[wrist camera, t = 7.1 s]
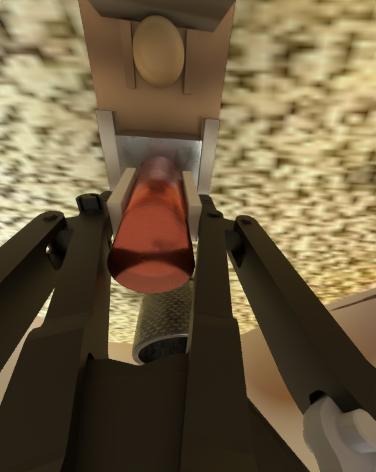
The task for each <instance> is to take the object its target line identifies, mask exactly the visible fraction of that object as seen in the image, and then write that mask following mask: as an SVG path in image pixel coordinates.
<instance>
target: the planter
mask: <svg viewBox="0 0 376 472" xmlns="http://www.w3.org/2000/svg"><path fill="white" fill-rule="evenodd" d="M193 285H194V282H193V281H191V280H188V281H187V282H185V283H184V284H183V285H181V286H180V287H178V288H176V289H173V290H171V291H167V292H162V293H146V294H145V296H144V298H143V301H142V304H141V307H140V311H139V316H138V321H137V326H136V331H135V337H134V343H133V350H132V356H133V359H134V361H135V362H136V363H138V364H139V365H144V364H146V363H149V362H152V361H154V360H157V359H160V358H163V357H165V356H168V355H171V354H181V353H186V349H187V341H188V331H189V322H190V313H191V303H192V294H193Z"/></svg>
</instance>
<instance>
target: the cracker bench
mask: <svg viewBox="0 0 376 472" xmlns="http://www.w3.org/2000/svg"><path fill="white" fill-rule="evenodd" d="M78 2H79V7H80V13H81V18H82V24H83V29H84V34H85V40H86V45H87V50H88V56H89V61H90V67H91V72H92V77H93V83H94V88H95V93H96V99H97V104H98V110H95V112H96V118H97V123H98V128H99V133H100V138H101V143H102V148H103V153H104V158H105V164H106V169H107V174H108V179H109V184H110V189H111V191H114V189H115V187H116V186H117V184H118V182H119V180H120V179H121V174H120V168H119V161H118V154H117V148H116V141H115V135H116V134H117V133H119V132H120V131H122V130H123V129H130V130H144V131H158V132H173V133H187V134H197V135H198V137H199V138H200V139H201V140H202V147H201V157H200V166H199V175H198V184H197V192H198V194H207V195H208V196H209V189H210V183H211V176H212V170H213V163H214V157H215V150H216V144H217V137H218V130H219V124H220V120H218V118H219V111H220V104H221V98H222V91H223V84H224V77H225V71H226V64H227V57H228V50H229V43H230V37H231V30H232V23H233V16H234V10H235V3H236V0H78ZM151 15H159V16H163V17H165V18H167V19H168V20H169V21H171V22H172V23H173V25H174V26H175V27H176V29H177V30H178V32H179V34H180V36H181V39H182V42H183V47H184V64H183V68H182V71H181V74H180V76H179V77H178V79H177V80H176V81H175V82H174V83H173V84H172V85H170V86H168V87H165V88H158V87H154V86H152V85H150V84H149V83H148V82H146V81H145V80H144V79H143V77H142V76H141V75H140V73H139V71H138V69H137V67H136V64H135V61H134V57H133V38H134V34H135V31H136V29H137V27H138V25H139V24H140V22H141V21H142V20H144V19H145V18H146V17H148V16H151Z"/></svg>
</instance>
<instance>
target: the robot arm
mask: <svg viewBox="0 0 376 472" xmlns="http://www.w3.org/2000/svg"><path fill="white" fill-rule="evenodd" d="M136 180H137V173H136V168H126V170H125V172H124V174H123V175H122V177H121V179H120V180H119V182H118V184H117V186H116V187H115V189H114V191H105V192H103V193H101V194H100V195H99V194H95V193H89V194H83V195H80V196H78V197H77V198H76V202H77V205H78V208H79V211H80V213H79V216H76V217H69V218H65V217H64V214H63V213H62V212H59V211H49V212H45V213H42V214H40V215H38V216H37V217H35V218H34V219H33V220H32V221H31V222H30V223H28V224H27V225H26V226H25V227H24V228H22V229H21V230H20V231H19V232H18V233H16V234H15V235H14V236H13V237H12V238H11V239H9V240H8V241H7V242H6V243H5V244H3V245H2V246H1V247H0V372H1V370H2V369H3V367H4V365H5V364H6V362H7V361H8V359H9V358H10V356H11V355H12V353H13V352H14V350H15V348H16V347H17V345H18V344H19V342H20V340H21V339H22V338H23V336H24V334H25V333H26V331H27V330H28V328H29V327H30V325H31V324H32V322H33V320H34V319H35V317H36V316H37V314H38V313H39V311H40V310H41V308H42V306H43V305H44V303H45V302H46V300H47V299H48V297H49V296H50V294H51V292H52V291H53V289H54V288H55V289H54V292H53V295H52V298H51V301H50V304H49V307H48V310H47V313H46V316H45V320H44V322H43V324H42V325H41V327H38V328H34V329H33V330H32V331H31V332H30V333H29V334H28V336H27V338H26V340H25V342H24V344H23V347H22V350H21V352H20V355H19V358H18V360H17V363H16V366H15V368H14V371H13V373H12V376H11V379H10V381H9V384H8V387H7V389H6V392H5V394H4V397H3V400H2V402H1V405H0V472H310V471H309V470H308V469H307V467H306V466H305V465H304V464H303V463H302V461H301V460H300V459H299V458H298V457H297V456H296V454H295V453H294V452H293V451H292V450H291V448H290V447H289V446H288V445H287V444H286V442H285V441H284V440H283V439H282V438H281V436H280V435H279V434H278V433H277V432H276V430H275V429H274V428H273V427H272V426H271V425H270V423H269V422H268V421H267V420H266V418H265V417H264V416H263V415H262V414H261V413H260V411H259V410H258V409H257V408H256V407H255V405H254V404H253V403H252V402H251V401H250V399H249V398H248V397H247V394H246V384H245V376H244V367H243V360H242V359H243V358H242V351H241V341H240V332H239V326H238V322H237V319H235V318H233V314H232V305H231V294H230V283H229V272H228V261H227V253H228V256H229V258H230V260H231V263H232V265H233V267H234V269H235V272H236V274H237V276H238V279H239V281H240V283H241V285H242V288H243V290H244V292H245V294H246V297H247V299H248V301H249V304H250V306H251V308H252V310H253V313H254V315H255V317H256V319H257V322H258V324H259V326H260V329H261V331H262V333H263V335H264V338H265V340H266V342H267V345H268V347H269V349H270V351H271V354H272V356H273V358H274V360H275V363H276V365H277V367H278V370H279V372H280V374H281V376H282V378H283V380H284V382H285V384H286V386H287V388H288V390H289V392H290V394H291V396H292V397H293V399H294V401H295V403H296V404H297V406H298V408H299V409H300V411H301V412H302V414H303V415H304V418H303V427H304V430H303V437H304V440H305V443H306V445H307V447H308V448H309V450H310V451H311V452H312V453H313V454H314V456H315V458H316V460H317V463H318V466H319V469H320V472H376V368H375V367H374V366H372V365H371V364H370V363H369V362H368V361H367V360H366V359H365V357H364V356H363V355H362V353H361V352H360V351H359V350H358V348H357V347H356V346H355V345H354V343H353V342H352V341H351V339H350V338H349V337H348V336H347V334H346V333H345V332H344V331H343V329H342V328H341V327H340V326H339V324H338V323H337V322H336V321H335V319H334V318H333V317H332V315H331V314H330V313H329V312H328V310H327V309H326V308H325V307H324V305H323V304H322V303H321V302H320V300H319V299H318V298H317V296H316V295H315V294H314V293H313V291H312V290H311V289H310V288H309V286H308V285H307V284H306V283H305V281H304V280H303V279H302V278H301V276H300V275H299V274H298V272H297V271H296V270H295V269H294V267H293V266H292V265H291V264H290V262H289V261H288V260H287V259H286V257H285V256H284V255H283V254H282V252H281V251H280V250H279V248H278V247H277V246H276V245H275V243H274V242H273V241H272V240H271V238H270V237H269V236H268V235H267V233H266V232H265V231H264V230H263V228H262V227H261V226H260V224H259V223H258V222H257V221H256V220H255V219H254V218H252V217H250V216H247V215H240V216H237V217H236V220H235V221H233V220H228V219H225V218H223V214H222V213H221V212H220V211H218V210H216V208H215V206H214V204H213V201H212V199H211V197H210V196H208V195H207V194H198V192H197V189H196V186H195V183H194V179H193V176H192V173H191V171H182V188H183V194H184V200H185V206H186V212H187V218H188V224H189V230H190V235H191V241H197V238H199V240H198V247H197V257H196V266H195V275H194V285H193V294H192V303H191V313H190V322H189V331H188V341H187V349H186V353H181V354H171V355H168V356H165V357H163V358H160V359H157V360H154V361H152V362H149V363H146V364H144V365H133V364H129V363H125V362H121V361H117V360H112V359H109V358H108V331H109V308H110V285H111V274H110V273H109V270H108V267H107V258H108V254H109V252H110V249H111V247H112V241H111V237H112V235H113V237H114V239H115V236H116V233H117V231H118V228H119V225H120V223H121V220H122V217H123V215H124V212H125V209H126V207H127V204H128V201H129V199H130V196H131V194H132V191H133V188H134V186H135V183H136ZM47 246H48V248H49V250H48V252H47V253H46V248H47Z"/></svg>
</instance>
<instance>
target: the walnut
mask: <svg viewBox="0 0 376 472" xmlns="http://www.w3.org/2000/svg"><path fill="white" fill-rule="evenodd" d="M133 57H134V61H135V64H136V67H137V69H138V71H139V73H140V75H141V76H142V77H143V79H144V80H145V81H146V82H148V83H149V84H150V85H152V86H154V87H158V88H165V87H168V86H170V85H172V84H173V83H174V82H175V81H176V80H177V79H178V77H179V76H180V74H181V71H182V68H183V64H184V47H183V42H182V39H181V36H180V34H179V32H178V30H177V29H176V27H175V26H174V25H173V23H172V22H171V21H169V20H168V19H167V18H165V17H163V16H159V15H151V16H148V17H146V18H145V19H144V20H142V21H141V22H140V24H139V25H138V27H137V29H136V31H135V34H134V38H133Z"/></svg>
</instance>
